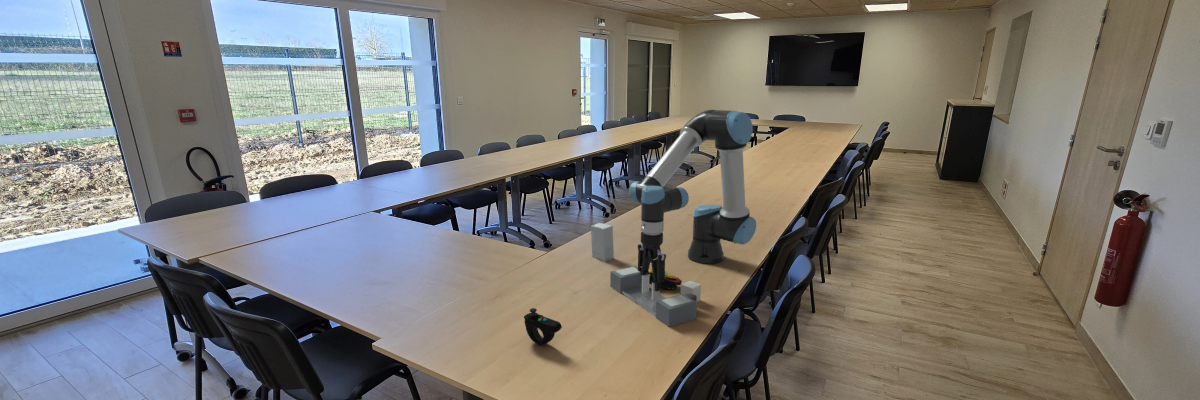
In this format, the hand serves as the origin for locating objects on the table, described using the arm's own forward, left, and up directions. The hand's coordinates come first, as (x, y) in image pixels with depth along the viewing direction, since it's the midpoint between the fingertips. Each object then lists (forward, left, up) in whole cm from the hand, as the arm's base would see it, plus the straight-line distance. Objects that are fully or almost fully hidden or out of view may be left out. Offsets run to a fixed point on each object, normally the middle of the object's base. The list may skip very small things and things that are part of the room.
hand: (650, 295), depth 176 cm
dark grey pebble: (-8, +12, -2) cm, 15 cm away
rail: (0, 0, -2) cm, 2 cm away
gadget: (-13, -6, -4) cm, 15 cm away
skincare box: (-7, -46, -3) cm, 47 cm away
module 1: (0, -15, -2) cm, 15 cm away
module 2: (0, +14, -2) cm, 15 cm away
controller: (+44, +8, -3) cm, 45 cm away
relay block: (-13, +6, -2) cm, 15 cm away
